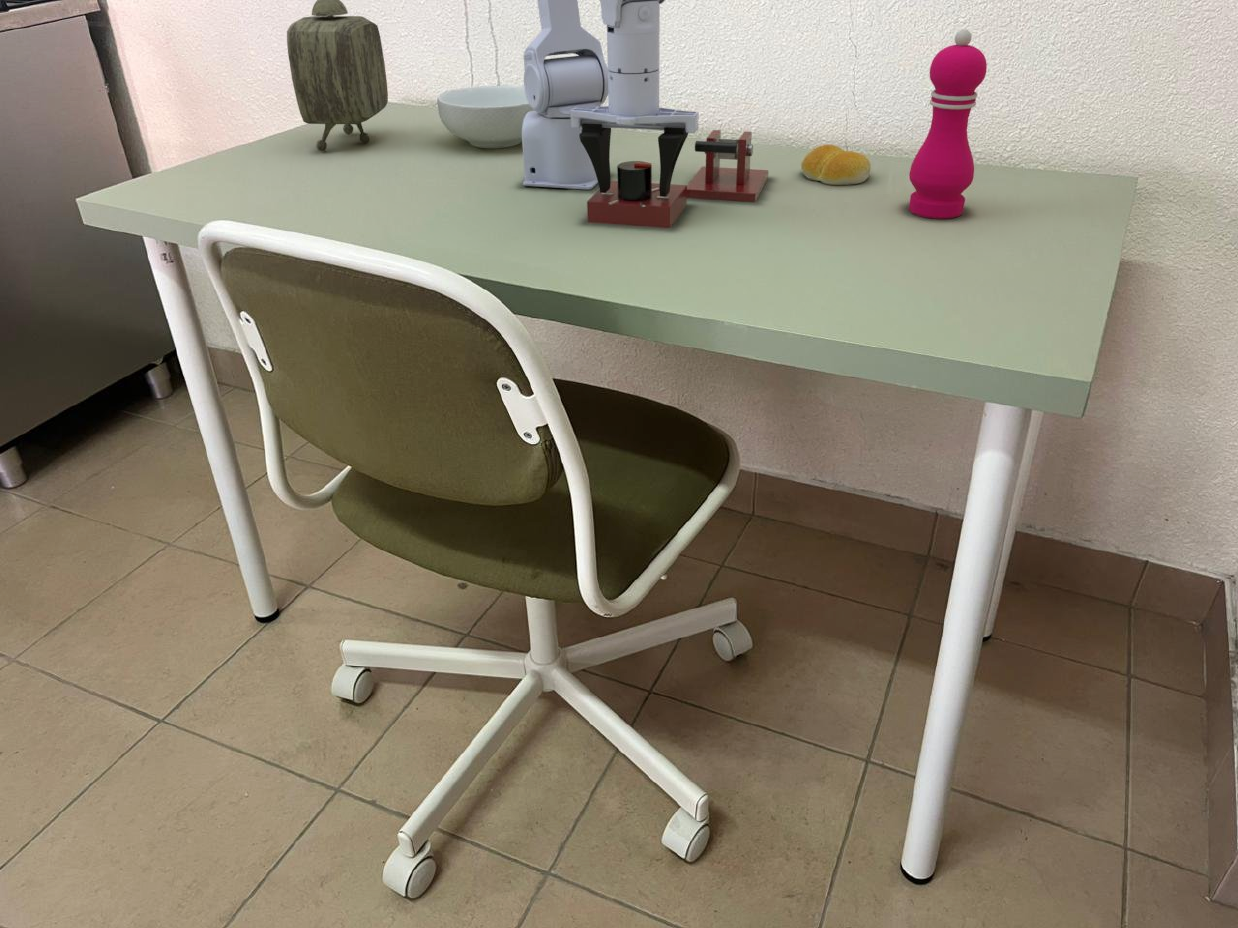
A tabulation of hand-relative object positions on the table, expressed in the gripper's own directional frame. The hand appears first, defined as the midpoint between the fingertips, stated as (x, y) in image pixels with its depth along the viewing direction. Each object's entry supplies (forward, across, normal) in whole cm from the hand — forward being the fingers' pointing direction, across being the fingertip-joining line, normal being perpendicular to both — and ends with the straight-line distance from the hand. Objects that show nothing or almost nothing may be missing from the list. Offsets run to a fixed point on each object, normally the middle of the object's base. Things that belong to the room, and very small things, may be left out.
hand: (634, 192), depth 113 cm
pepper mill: (+3, +34, +10) cm, 36 cm away
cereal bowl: (+3, -30, +32) cm, 44 cm away
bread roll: (+3, +22, +22) cm, 31 cm away
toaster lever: (-2, +9, +10) cm, 13 cm away
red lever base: (+3, +8, +14) cm, 17 cm away
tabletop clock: (+3, -52, +26) cm, 59 cm away
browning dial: (0, 0, 0) cm, 0 cm away
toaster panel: (+3, 0, +2) cm, 3 cm away
